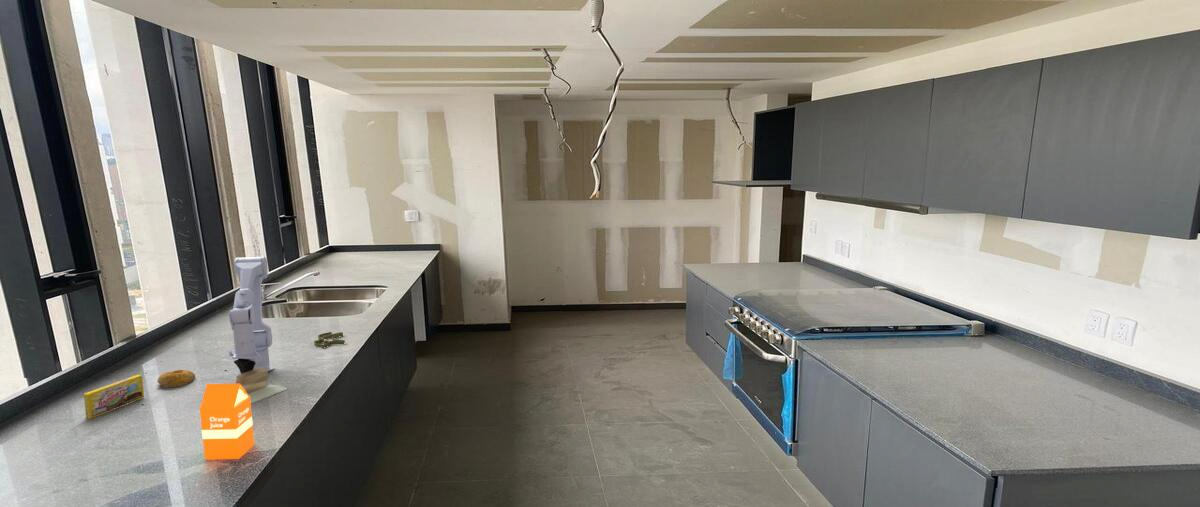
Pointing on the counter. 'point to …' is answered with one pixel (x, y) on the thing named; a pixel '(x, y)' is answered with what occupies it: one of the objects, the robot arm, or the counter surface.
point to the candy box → (113, 396)
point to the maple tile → (253, 379)
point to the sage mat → (265, 393)
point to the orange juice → (226, 421)
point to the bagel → (176, 378)
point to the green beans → (326, 336)
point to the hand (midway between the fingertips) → (247, 378)
